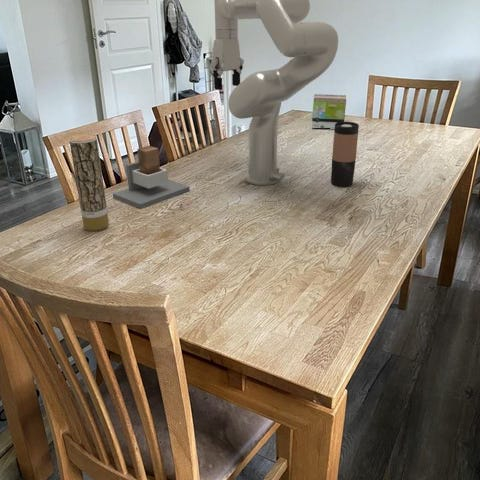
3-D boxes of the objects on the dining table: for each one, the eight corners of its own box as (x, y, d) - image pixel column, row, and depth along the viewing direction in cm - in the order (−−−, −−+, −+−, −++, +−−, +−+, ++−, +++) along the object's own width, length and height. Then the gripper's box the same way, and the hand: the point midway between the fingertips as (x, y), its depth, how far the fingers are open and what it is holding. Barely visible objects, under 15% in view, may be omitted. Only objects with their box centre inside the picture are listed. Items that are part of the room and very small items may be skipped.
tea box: (311, 129, 233) (313, 97, 227) (312, 124, 242) (313, 93, 236) (343, 130, 231) (346, 98, 225) (343, 125, 240) (345, 94, 233)
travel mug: (355, 181, 168) (361, 122, 159) (350, 189, 161) (356, 128, 152) (333, 178, 170) (338, 120, 162) (327, 185, 164) (331, 125, 155)
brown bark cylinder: (102, 232, 133) (89, 141, 122) (79, 231, 134) (63, 140, 123) (113, 222, 139) (101, 134, 128) (90, 220, 140) (77, 133, 129)
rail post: (160, 179, 157) (158, 148, 152) (149, 182, 154) (146, 151, 149) (151, 176, 159) (148, 145, 155) (140, 179, 156) (137, 148, 152)
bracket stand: (189, 190, 161) (187, 161, 157) (140, 208, 148) (137, 177, 143) (161, 181, 170) (159, 153, 165) (113, 197, 156) (109, 167, 152)
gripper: (234, 32, 173) (234, 83, 181) (200, 36, 161) (202, 90, 169) (251, 33, 169) (251, 85, 177) (217, 37, 157) (219, 92, 165)
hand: (227, 87), depth 173 cm, fingers open, 9 cm apart
